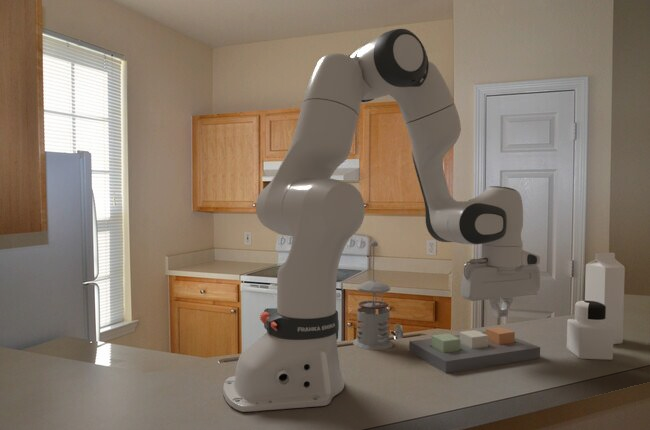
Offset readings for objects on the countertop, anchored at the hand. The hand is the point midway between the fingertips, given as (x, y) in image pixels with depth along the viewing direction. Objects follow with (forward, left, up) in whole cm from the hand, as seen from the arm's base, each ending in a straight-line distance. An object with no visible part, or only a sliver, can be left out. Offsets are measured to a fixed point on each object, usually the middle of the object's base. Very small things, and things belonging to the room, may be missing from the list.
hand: (500, 316), depth 109 cm
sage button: (-15, 0, -6) cm, 16 cm away
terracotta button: (0, 0, -6) cm, 6 cm away
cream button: (-8, 0, -6) cm, 10 cm away
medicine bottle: (+17, -9, -8) cm, 21 cm away
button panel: (-8, 0, -8) cm, 11 cm away
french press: (-25, +16, -8) cm, 30 cm away
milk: (+29, -3, -8) cm, 31 cm away
